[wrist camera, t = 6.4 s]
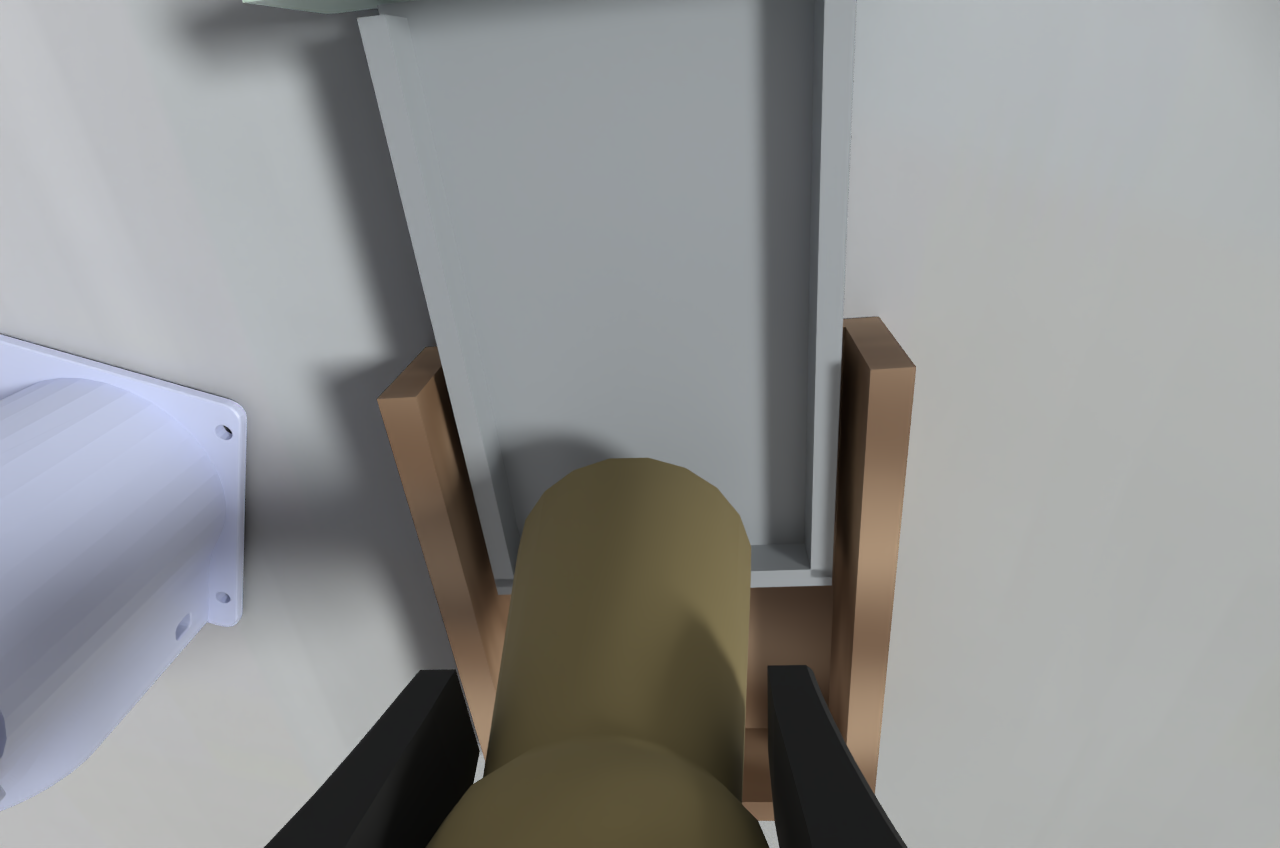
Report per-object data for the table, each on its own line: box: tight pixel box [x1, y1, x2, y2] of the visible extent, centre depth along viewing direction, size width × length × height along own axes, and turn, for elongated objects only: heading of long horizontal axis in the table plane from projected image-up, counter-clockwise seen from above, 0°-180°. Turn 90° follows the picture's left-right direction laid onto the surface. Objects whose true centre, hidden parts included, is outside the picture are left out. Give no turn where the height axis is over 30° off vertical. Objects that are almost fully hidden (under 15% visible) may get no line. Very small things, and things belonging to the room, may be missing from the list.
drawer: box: [242, 0, 857, 595], centre depth 16 cm, size 19×13×3 cm, turn 5°
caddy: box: [377, 317, 916, 821], centre depth 22 cm, size 17×13×4 cm
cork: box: [426, 458, 769, 848], centre depth 13 cm, size 6×6×11 cm
